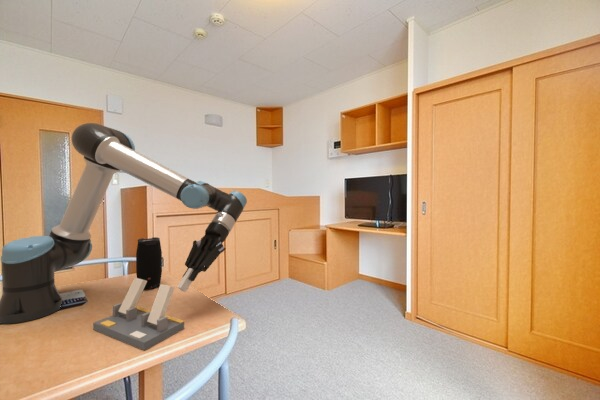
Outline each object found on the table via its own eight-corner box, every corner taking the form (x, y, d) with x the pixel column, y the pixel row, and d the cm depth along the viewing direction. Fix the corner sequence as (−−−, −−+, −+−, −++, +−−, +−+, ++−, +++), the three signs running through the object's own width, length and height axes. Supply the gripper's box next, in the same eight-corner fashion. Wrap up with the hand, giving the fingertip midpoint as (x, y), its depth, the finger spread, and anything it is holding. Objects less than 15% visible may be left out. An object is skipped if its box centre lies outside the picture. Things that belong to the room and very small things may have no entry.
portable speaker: (156, 290, 106) (156, 240, 106) (131, 291, 106) (130, 241, 105) (165, 283, 115) (165, 236, 114) (142, 283, 114) (142, 237, 113)
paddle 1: (116, 312, 80) (134, 277, 85) (121, 313, 82) (138, 278, 86) (126, 316, 78) (143, 279, 83) (131, 317, 80) (148, 281, 84)
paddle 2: (145, 323, 75) (159, 283, 78) (150, 323, 76) (164, 284, 80) (156, 327, 73) (171, 286, 76) (161, 327, 74) (175, 287, 78)
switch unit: (93, 329, 77) (93, 311, 77) (135, 312, 88) (134, 296, 87) (144, 350, 67) (144, 329, 67) (184, 328, 78) (184, 310, 78)
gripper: (200, 219, 97) (158, 280, 83) (229, 222, 91) (190, 287, 77) (211, 232, 102) (173, 291, 88) (239, 235, 96) (204, 299, 82)
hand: (181, 289), depth 82 cm, fingers closed
